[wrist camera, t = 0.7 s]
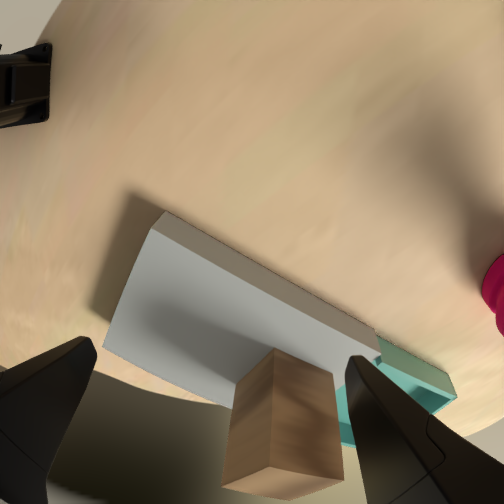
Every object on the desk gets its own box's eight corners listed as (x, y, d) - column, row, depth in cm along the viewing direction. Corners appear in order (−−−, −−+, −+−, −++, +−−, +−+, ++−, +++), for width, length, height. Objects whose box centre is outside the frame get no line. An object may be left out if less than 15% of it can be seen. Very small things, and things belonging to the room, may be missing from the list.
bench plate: (114, 326, 28) (102, 346, 25) (165, 210, 22) (151, 227, 19) (283, 405, 32) (282, 427, 29) (374, 329, 26) (381, 353, 23)
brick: (235, 384, 26) (220, 486, 17) (274, 347, 23) (269, 466, 14) (290, 405, 27) (289, 500, 18) (332, 373, 24) (344, 480, 16)
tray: (287, 404, 32) (287, 430, 29) (373, 333, 26) (381, 362, 23) (370, 430, 34) (373, 451, 31) (448, 374, 29) (457, 397, 26)
